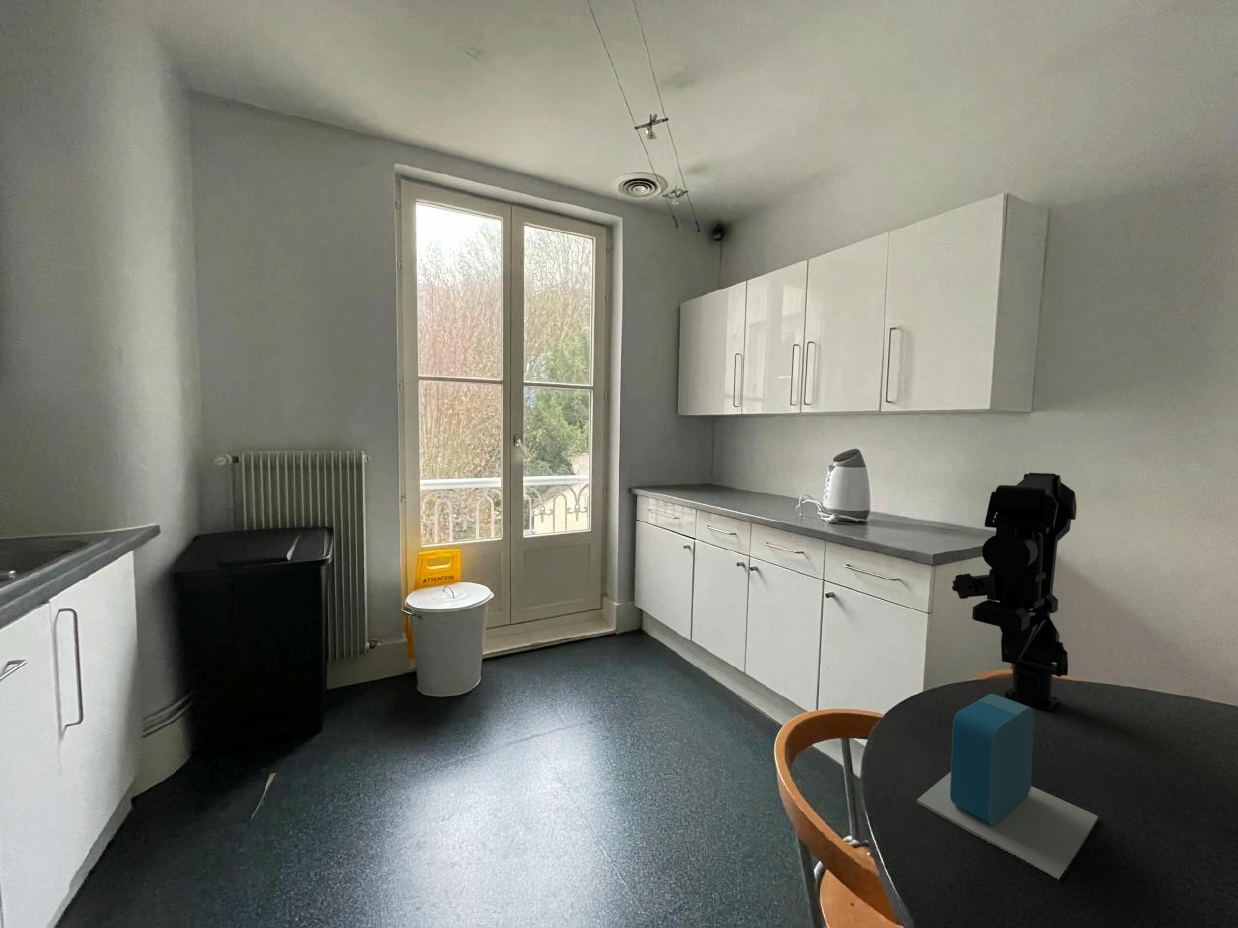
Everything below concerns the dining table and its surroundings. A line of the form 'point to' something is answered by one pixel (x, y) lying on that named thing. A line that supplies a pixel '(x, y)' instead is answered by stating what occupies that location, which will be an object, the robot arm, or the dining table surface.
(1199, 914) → the dining table surface
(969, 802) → the blue rounded flat block
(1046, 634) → the robot arm
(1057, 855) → the mat
